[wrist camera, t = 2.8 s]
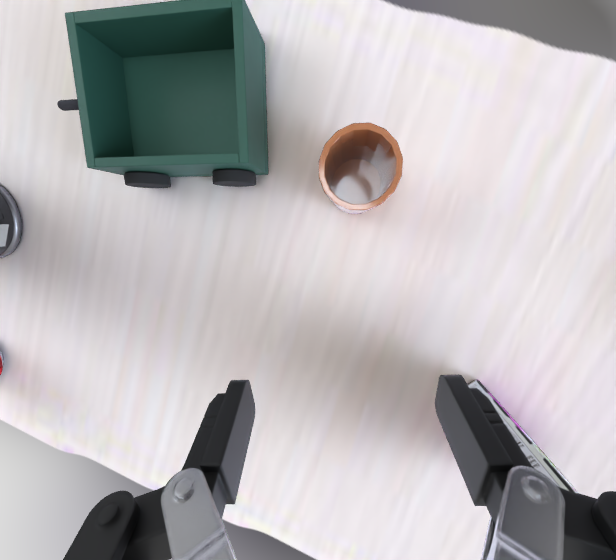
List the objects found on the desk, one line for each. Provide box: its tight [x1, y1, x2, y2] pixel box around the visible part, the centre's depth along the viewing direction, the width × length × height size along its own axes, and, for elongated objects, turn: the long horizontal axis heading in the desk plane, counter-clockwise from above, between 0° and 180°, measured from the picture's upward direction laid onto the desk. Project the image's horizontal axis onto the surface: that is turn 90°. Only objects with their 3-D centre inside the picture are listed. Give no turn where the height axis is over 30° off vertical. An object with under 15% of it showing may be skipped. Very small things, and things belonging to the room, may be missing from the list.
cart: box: [65, 0, 268, 177], centre depth 26 cm, size 15×12×6 cm
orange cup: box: [319, 123, 403, 214], centre depth 23 cm, size 5×5×10 cm
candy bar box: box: [467, 379, 579, 494], centre depth 23 cm, size 11×5×16 cm, turn 41°
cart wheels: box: [58, 99, 256, 188], centre depth 27 cm, size 18×14×4 cm
